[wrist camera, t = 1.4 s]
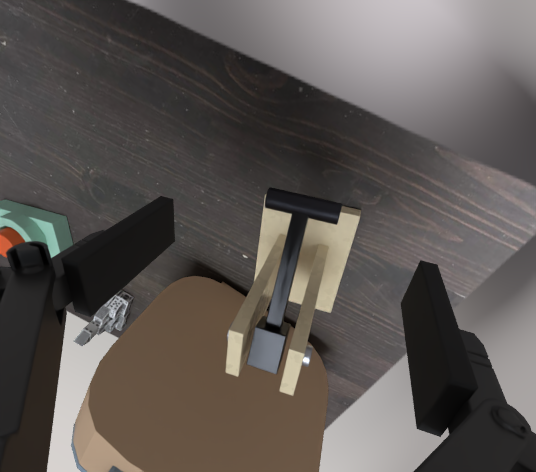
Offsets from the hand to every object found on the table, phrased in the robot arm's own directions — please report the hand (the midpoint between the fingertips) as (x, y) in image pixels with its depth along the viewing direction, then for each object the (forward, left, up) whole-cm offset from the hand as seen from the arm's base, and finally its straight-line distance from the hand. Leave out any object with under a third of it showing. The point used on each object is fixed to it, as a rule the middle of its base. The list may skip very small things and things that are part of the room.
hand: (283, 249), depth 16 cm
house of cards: (+25, -27, -15) cm, 40 cm away
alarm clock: (+22, -5, -15) cm, 27 cm away
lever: (+5, 0, -4) cm, 7 cm away
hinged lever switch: (+9, 0, -14) cm, 17 cm away
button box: (+19, -36, -14) cm, 43 cm away
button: (+16, -36, -11) cm, 41 cm away
